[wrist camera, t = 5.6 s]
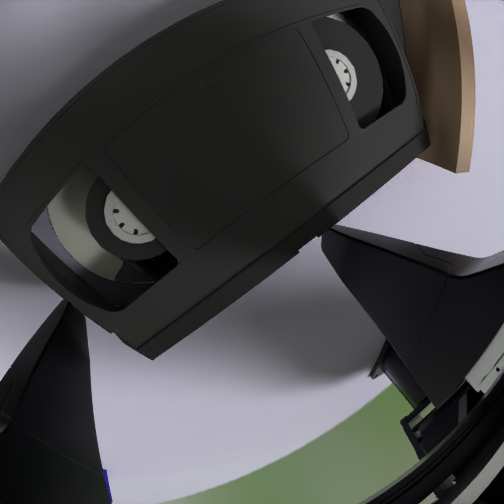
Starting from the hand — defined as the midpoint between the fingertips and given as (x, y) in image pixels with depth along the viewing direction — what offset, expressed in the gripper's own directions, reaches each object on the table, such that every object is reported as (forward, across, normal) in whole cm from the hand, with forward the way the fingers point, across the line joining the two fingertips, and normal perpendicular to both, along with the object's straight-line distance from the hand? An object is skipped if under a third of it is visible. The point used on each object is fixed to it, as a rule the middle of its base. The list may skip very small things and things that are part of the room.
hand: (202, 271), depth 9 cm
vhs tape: (+2, -2, -4) cm, 5 cm away
